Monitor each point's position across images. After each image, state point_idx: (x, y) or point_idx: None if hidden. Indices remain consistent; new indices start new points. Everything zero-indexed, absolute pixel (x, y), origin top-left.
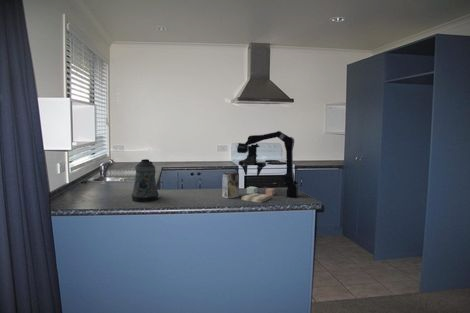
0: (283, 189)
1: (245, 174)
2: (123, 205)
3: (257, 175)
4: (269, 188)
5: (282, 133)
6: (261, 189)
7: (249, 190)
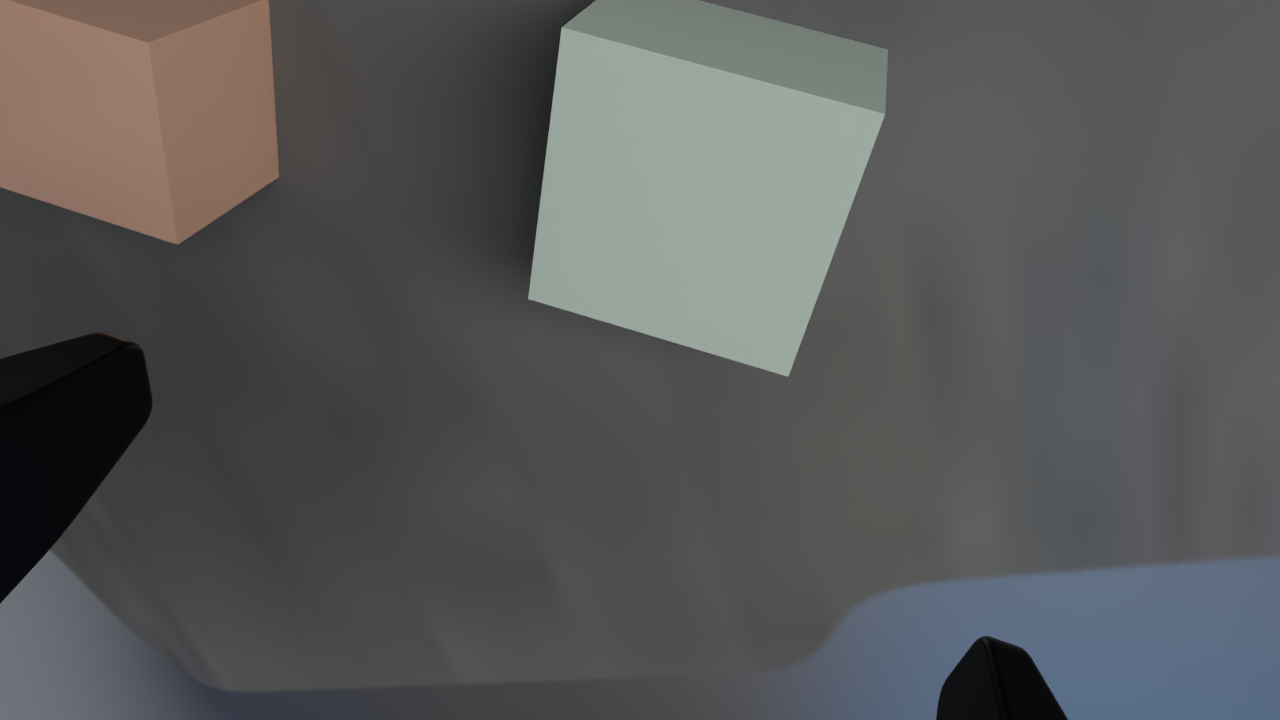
0: (234, 594)
1: (1026, 688)
2: None
3: (40, 362)
4: (135, 205)
5: None
6: (596, 558)
7: (767, 53)
